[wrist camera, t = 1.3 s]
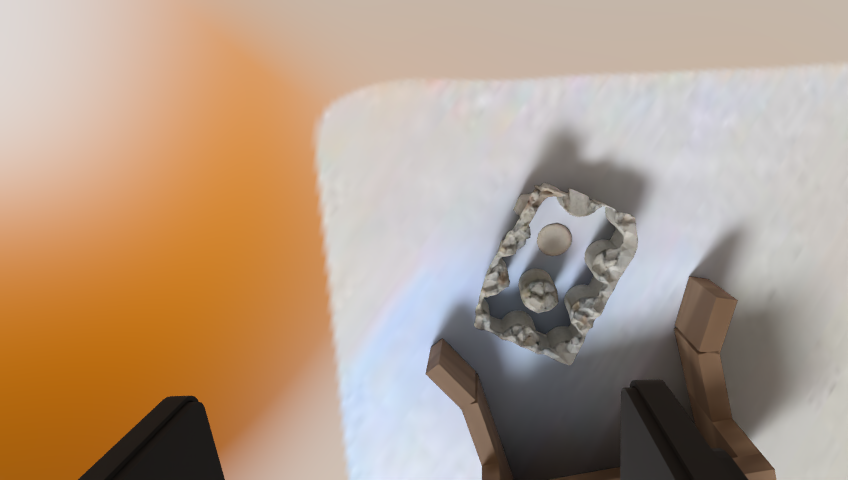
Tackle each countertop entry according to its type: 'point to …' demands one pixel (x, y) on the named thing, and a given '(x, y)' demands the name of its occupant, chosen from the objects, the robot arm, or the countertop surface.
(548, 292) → the grey holed block
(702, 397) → the walnut garage
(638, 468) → the robot arm
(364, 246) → the countertop surface
